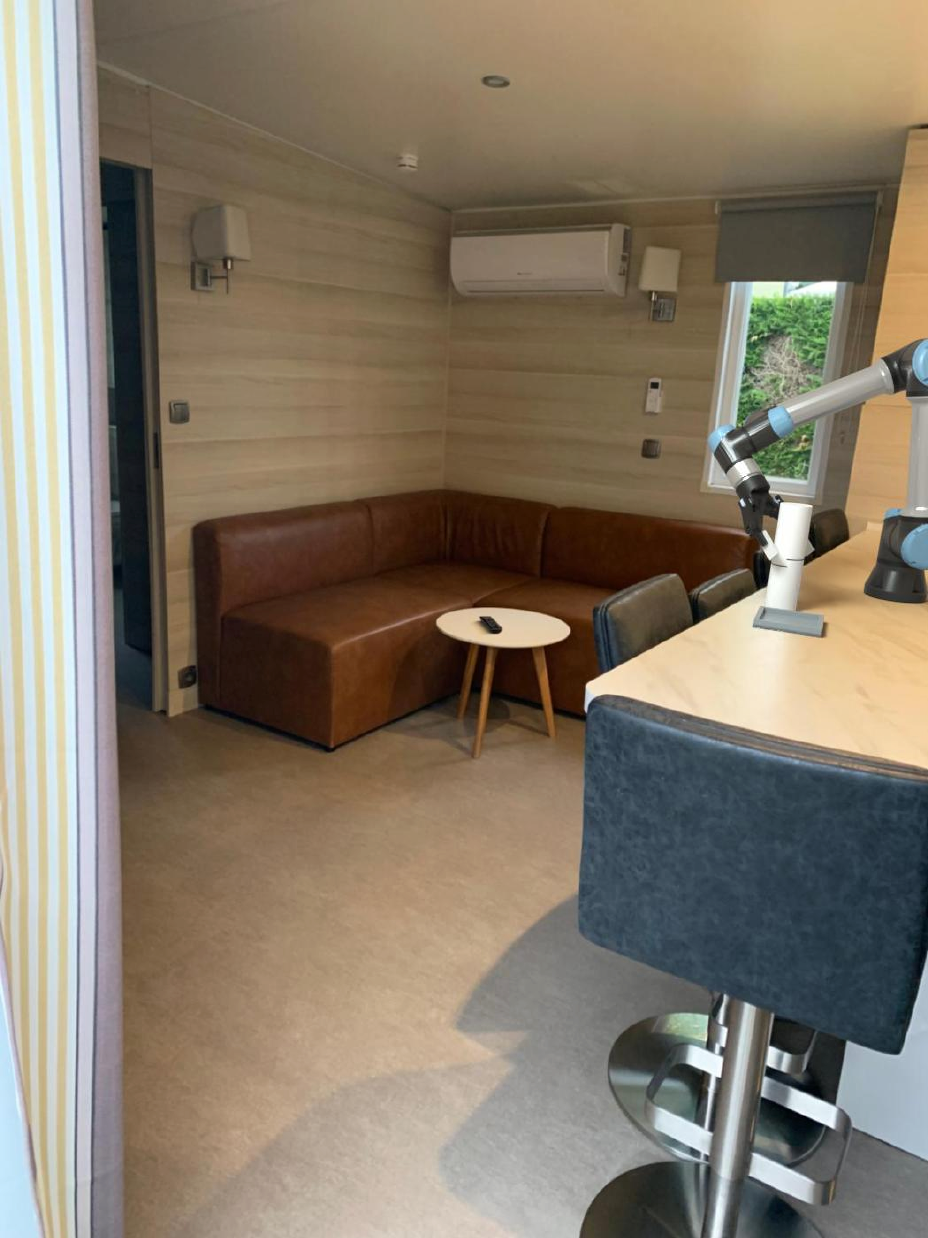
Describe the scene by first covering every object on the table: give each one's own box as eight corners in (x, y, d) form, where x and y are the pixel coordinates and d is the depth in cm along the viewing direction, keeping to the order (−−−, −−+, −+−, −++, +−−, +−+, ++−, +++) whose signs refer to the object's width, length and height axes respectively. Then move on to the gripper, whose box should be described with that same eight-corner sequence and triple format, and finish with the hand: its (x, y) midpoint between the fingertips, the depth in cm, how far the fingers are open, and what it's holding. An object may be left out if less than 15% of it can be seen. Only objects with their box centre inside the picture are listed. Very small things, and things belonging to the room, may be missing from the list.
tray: (823, 622, 202) (824, 615, 201) (820, 637, 189) (821, 629, 189) (759, 613, 207) (760, 605, 207) (752, 626, 195) (753, 619, 194)
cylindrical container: (797, 614, 209) (815, 507, 202) (766, 610, 210) (782, 505, 203) (793, 606, 215) (810, 504, 209) (762, 603, 217) (778, 501, 210)
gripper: (769, 490, 226) (812, 560, 218) (704, 492, 212) (747, 567, 204) (791, 471, 220) (835, 542, 212) (725, 473, 206) (770, 549, 198)
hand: (792, 555), depth 208 cm, fingers open, 13 cm apart
